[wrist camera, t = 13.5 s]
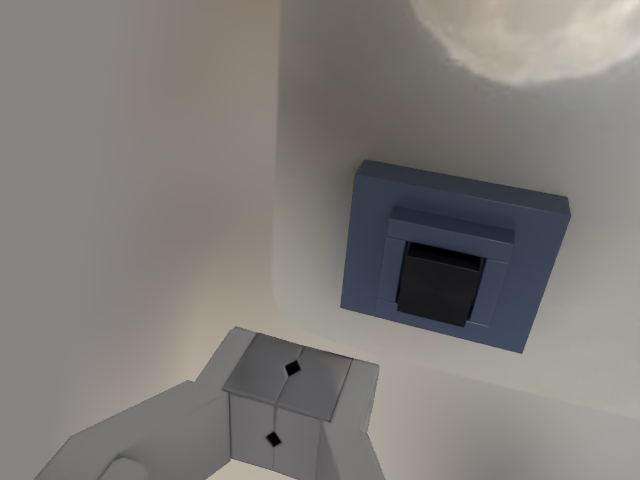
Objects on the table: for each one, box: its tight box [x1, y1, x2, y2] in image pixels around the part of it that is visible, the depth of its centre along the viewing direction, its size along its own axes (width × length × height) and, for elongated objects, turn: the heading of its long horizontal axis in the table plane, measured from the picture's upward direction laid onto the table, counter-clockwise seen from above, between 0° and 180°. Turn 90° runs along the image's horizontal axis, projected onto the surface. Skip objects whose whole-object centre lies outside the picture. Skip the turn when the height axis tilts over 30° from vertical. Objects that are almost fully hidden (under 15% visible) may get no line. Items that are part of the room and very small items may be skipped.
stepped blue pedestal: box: [340, 160, 571, 354], centre depth 33 cm, size 12×10×4 cm
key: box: [397, 242, 481, 328], centre depth 31 cm, size 4×4×2 cm
